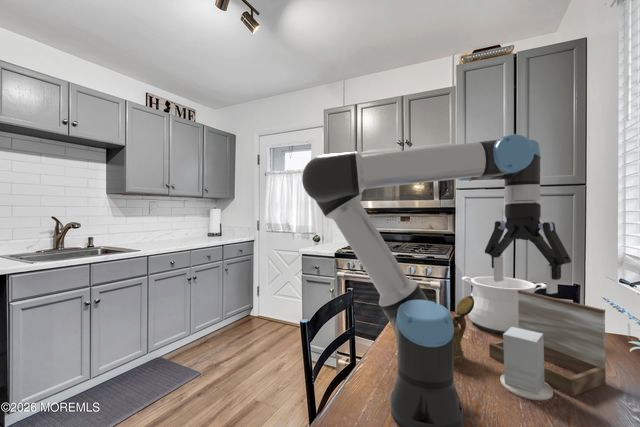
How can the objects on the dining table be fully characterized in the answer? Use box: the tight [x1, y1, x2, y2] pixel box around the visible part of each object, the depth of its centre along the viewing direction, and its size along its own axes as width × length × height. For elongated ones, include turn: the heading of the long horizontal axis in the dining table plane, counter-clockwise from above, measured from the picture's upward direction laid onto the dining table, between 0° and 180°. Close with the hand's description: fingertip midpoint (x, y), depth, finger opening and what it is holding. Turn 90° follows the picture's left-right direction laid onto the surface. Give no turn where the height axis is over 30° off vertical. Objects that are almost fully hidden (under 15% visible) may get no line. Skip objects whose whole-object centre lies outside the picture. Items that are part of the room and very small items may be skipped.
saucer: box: [499, 373, 554, 402], centre depth 77 cm, size 11×11×1 cm
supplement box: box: [502, 327, 545, 395], centre depth 77 cm, size 7×7×13 cm
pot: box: [461, 275, 547, 335], centre depth 118 cm, size 28×24×17 cm
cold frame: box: [488, 290, 607, 397], centre depth 85 cm, size 14×22×19 cm, turn 22°
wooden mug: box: [452, 295, 474, 364], centre depth 94 cm, size 9×14×18 cm, turn 102°
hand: (523, 286), depth 77 cm, fingers open, 13 cm apart
